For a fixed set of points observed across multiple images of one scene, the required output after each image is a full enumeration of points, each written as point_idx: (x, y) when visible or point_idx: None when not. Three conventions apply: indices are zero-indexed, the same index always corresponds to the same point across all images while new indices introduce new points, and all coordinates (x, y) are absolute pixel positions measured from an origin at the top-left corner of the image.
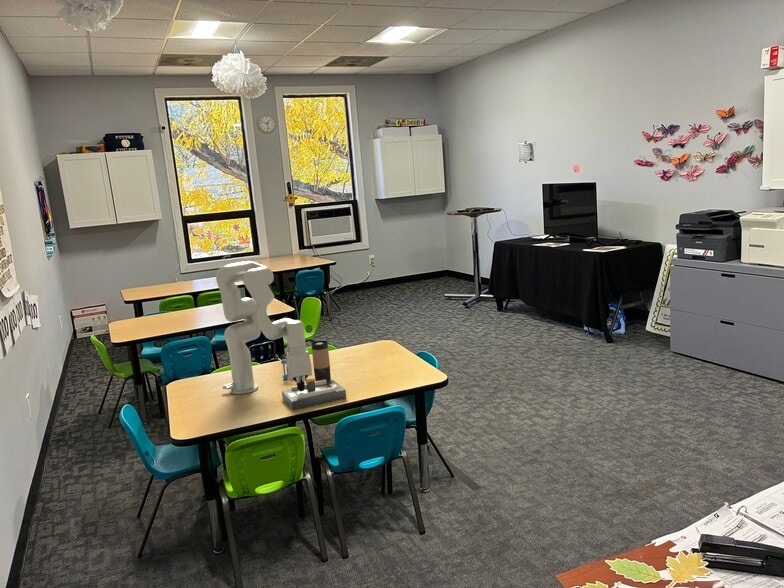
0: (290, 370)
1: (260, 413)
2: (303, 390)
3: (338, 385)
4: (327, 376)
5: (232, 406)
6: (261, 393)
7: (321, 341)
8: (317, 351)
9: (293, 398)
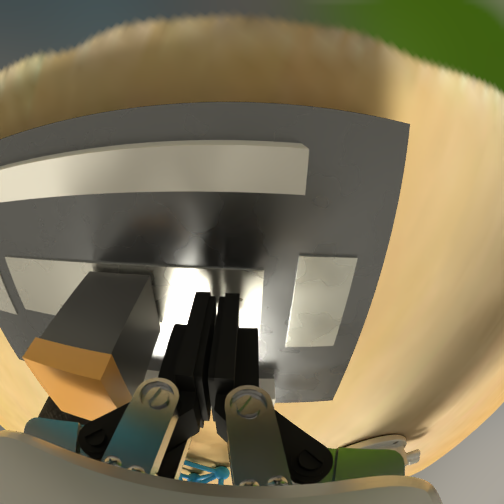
0: None
1: (497, 232)
2: (202, 292)
3: None
4: (51, 401)
5: (480, 363)
6: (348, 428)
7: None
8: None
9: (356, 203)
